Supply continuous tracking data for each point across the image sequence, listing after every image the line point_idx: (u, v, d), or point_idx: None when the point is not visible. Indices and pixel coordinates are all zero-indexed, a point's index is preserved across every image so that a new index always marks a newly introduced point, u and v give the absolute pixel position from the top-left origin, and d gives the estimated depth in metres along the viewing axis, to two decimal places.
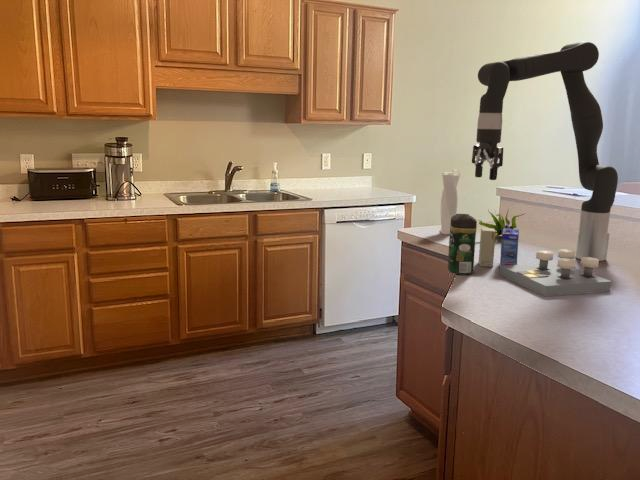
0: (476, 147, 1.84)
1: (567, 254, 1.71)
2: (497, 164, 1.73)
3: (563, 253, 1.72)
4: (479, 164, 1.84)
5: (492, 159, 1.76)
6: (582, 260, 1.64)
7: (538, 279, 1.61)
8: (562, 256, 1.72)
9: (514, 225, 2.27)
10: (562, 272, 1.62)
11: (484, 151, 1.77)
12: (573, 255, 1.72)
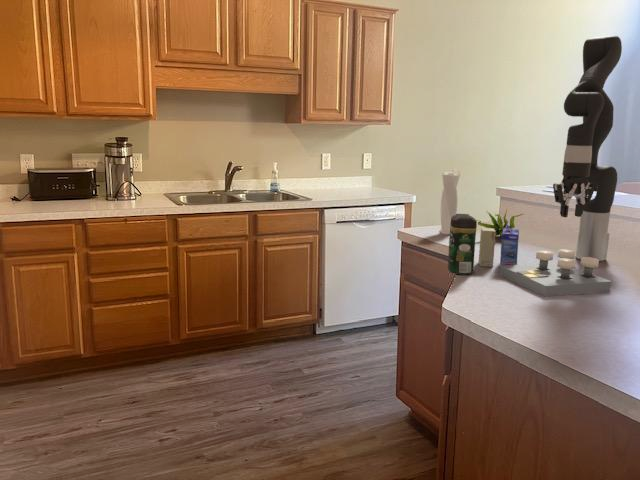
0: None
1: (567, 254, 1.71)
2: None
3: (563, 253, 1.72)
4: None
5: None
6: (582, 260, 1.64)
7: (538, 279, 1.61)
8: (562, 256, 1.72)
9: (512, 225, 2.26)
10: (562, 272, 1.62)
11: (582, 186, 1.68)
12: (573, 255, 1.72)
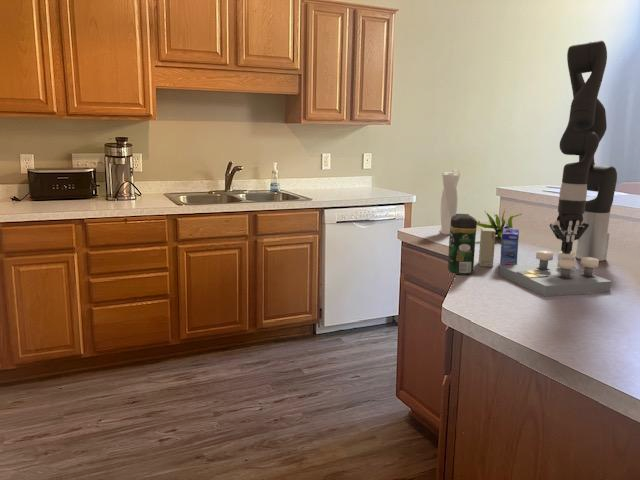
0: (557, 225, 1.70)
1: (567, 256, 1.72)
2: None
3: (563, 255, 1.72)
4: None
5: None
6: (582, 260, 1.64)
7: (538, 279, 1.61)
8: None
9: (510, 225, 2.26)
10: (562, 272, 1.62)
11: (577, 222, 1.70)
12: (573, 257, 1.72)
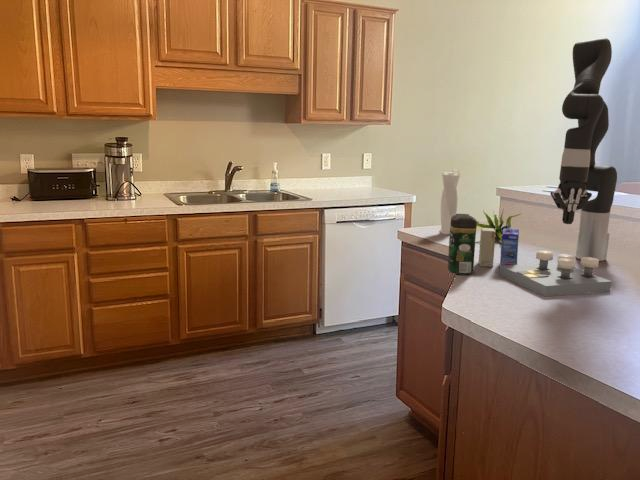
0: (558, 193, 1.61)
1: None
2: None
3: None
4: None
5: None
6: (582, 260, 1.64)
7: (538, 279, 1.61)
8: None
9: (509, 225, 2.26)
10: (562, 272, 1.62)
11: (579, 191, 1.61)
12: None
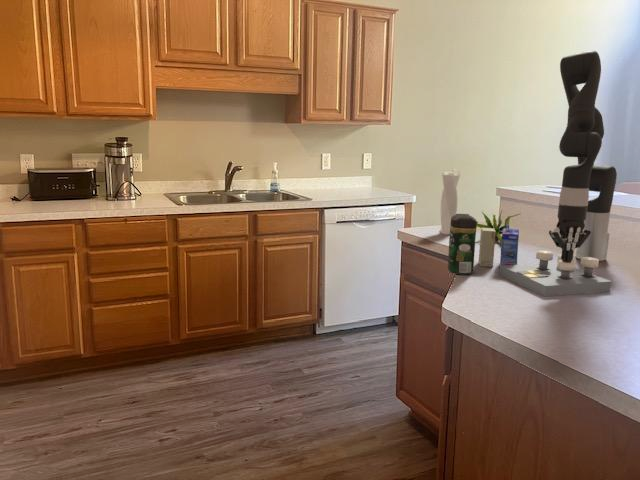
0: None
1: None
2: None
3: None
4: None
5: None
6: (582, 260, 1.64)
7: (538, 279, 1.61)
8: None
9: None
10: (562, 274, 1.62)
11: (578, 229, 1.58)
12: (572, 260, 1.72)
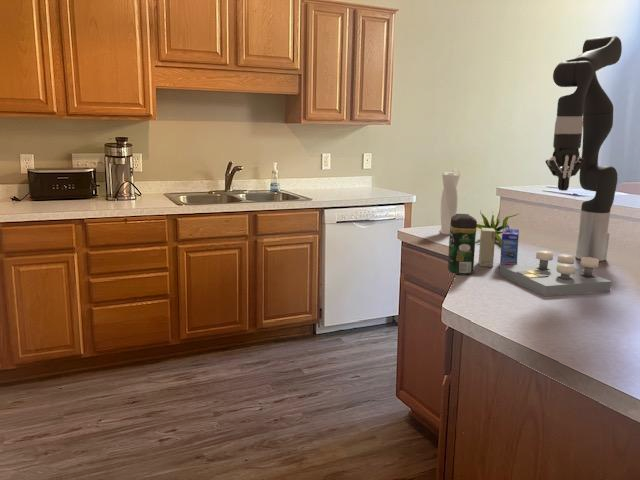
0: None
1: (566, 259, 1.72)
2: None
3: (562, 258, 1.72)
4: None
5: None
6: (582, 260, 1.64)
7: (538, 279, 1.61)
8: (561, 261, 1.73)
9: (505, 225, 2.26)
10: (561, 277, 1.63)
11: (573, 157, 1.65)
12: (572, 260, 1.72)
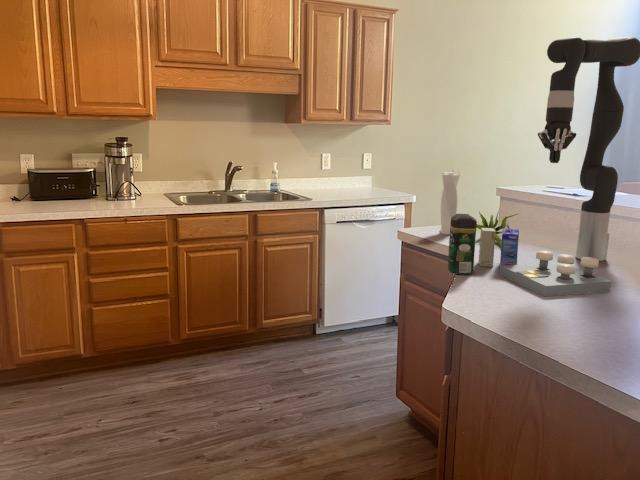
0: (544, 133, 1.71)
1: (566, 259, 1.72)
2: None
3: (562, 258, 1.72)
4: None
5: None
6: (582, 260, 1.64)
7: (538, 279, 1.61)
8: (561, 261, 1.73)
9: (504, 225, 2.25)
10: (561, 277, 1.63)
11: (565, 131, 1.72)
12: (572, 260, 1.72)
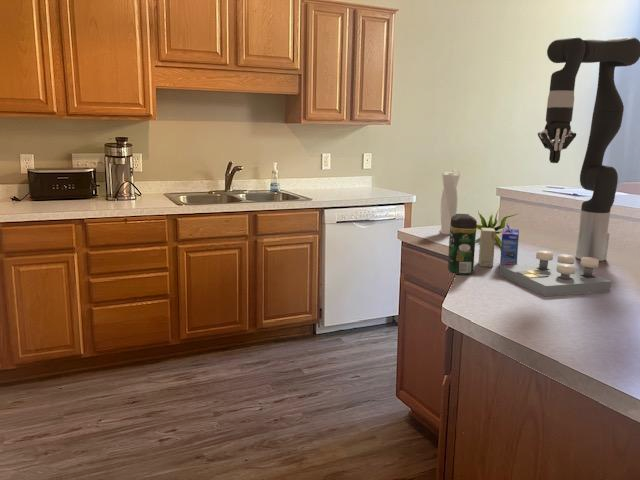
0: (544, 133, 1.71)
1: (566, 259, 1.72)
2: None
3: (562, 258, 1.72)
4: None
5: None
6: (582, 260, 1.64)
7: (538, 279, 1.61)
8: (561, 261, 1.73)
9: (503, 225, 2.25)
10: (561, 277, 1.63)
11: (565, 131, 1.72)
12: (572, 260, 1.72)
